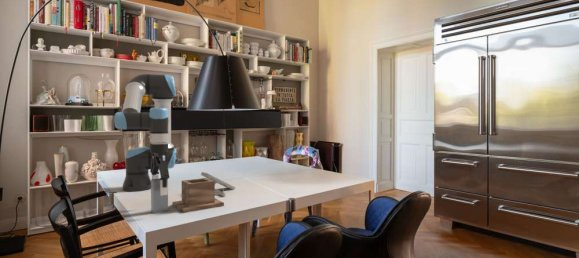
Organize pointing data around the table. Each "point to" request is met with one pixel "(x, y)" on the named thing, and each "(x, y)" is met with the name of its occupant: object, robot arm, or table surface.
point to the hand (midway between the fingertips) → (159, 192)
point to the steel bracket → (158, 198)
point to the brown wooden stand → (197, 195)
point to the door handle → (218, 183)
